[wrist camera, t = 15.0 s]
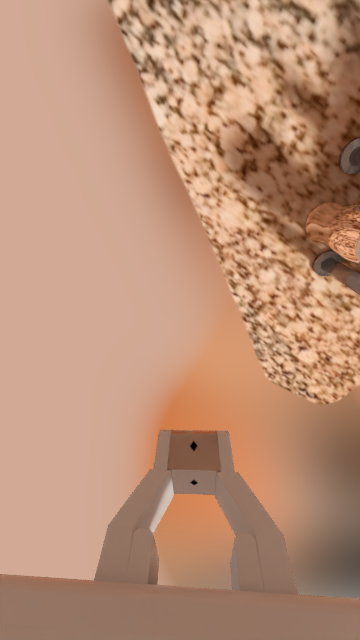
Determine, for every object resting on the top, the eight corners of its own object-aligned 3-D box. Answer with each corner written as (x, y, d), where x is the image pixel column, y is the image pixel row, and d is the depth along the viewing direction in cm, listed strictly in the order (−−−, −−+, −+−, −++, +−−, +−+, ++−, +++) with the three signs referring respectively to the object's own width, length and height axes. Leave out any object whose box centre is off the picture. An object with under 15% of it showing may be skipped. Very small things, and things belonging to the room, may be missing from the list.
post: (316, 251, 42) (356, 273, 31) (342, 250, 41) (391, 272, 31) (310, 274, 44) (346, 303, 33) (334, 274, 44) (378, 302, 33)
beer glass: (299, 209, 38) (353, 223, 25) (345, 191, 37) (427, 196, 24) (305, 249, 42) (355, 279, 29) (347, 234, 40) (421, 258, 27)
